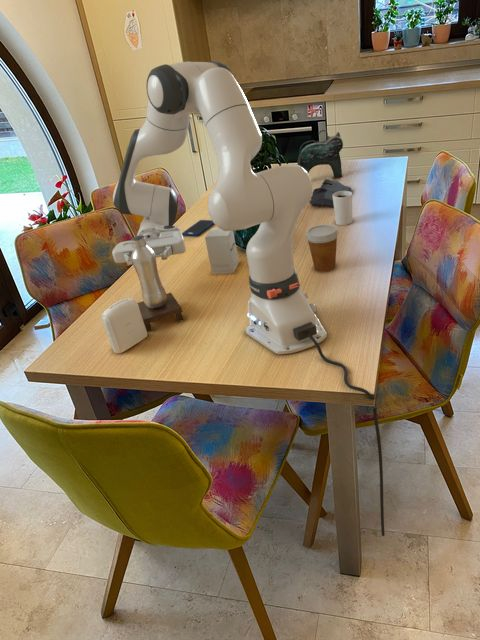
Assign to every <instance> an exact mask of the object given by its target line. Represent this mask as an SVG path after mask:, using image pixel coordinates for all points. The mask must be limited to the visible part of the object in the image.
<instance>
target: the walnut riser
mask: <svg viewBox="0 0 480 640" xmlns="http://www.w3.org/2000/svg"><path fill="white" fill-rule="evenodd" d="M166 294H167V301H166V303H165V304H164V305H163V306H161V307H158V308H149V307H147V306H146V305H145V303H144V301H143V300H142V301H139V302H137V304H138V306H139V309H140V312H141V316H142V319H143V322H144V325H145V328H146V332H147V333H149V332H152V331H153V328H152V324H151V323H153V322H156V321H159V320H163V319H166V318H169V317H172V316H175V317H176V320H177V322H182V321H184V317H183V308H182V306H181V305H180V304H179V302H178V301H177V299H176V298H175V296H174V295H173V293H172V292H168V293H167V292H166Z"/></svg>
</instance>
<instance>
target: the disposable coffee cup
mask: <svg viewBox="0 0 480 640" xmlns="http://www.w3.org/2000/svg"><path fill="white" fill-rule="evenodd" d="M338 236H339V230H338V229H337V227H336V226H335V225H332V224H317V225H314V226H312V227H309V228H308V229H307V231H306V233H305V239H306V240H307V243H308V246H309V251H310V255H311V260H312V264H313V268H314V270H315V271H316V272H319V273H328V272H331V271H334V270H335V269H336V263H337V261H336V260H337V246H338V245H337V244H338V243H337V242H338Z"/></svg>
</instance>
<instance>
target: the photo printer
mask: <svg viewBox="0 0 480 640" xmlns="http://www.w3.org/2000/svg"><path fill="white" fill-rule="evenodd" d="M137 303H138V302H137V301H136V299H135V298H132V297H127V298H123V299H120V300H118V301H116V302H114V303H112V304H111V305H110V306H108V308H106V309H105V310H104V311H103V312H102V313H101V315H100V316H101V321H102V324H103V327H104V329H105V332H106V334H107V337H108V340H109V344H110V346H111V349H112V350H113V352H114V353H115V354H123V353H124V352H126V351H127V350H130V348H132V347H134V346H135V345H136V344H139V343H140V342H141V341H143V340H145V339H146V338H147V337H148V332H147V331H146V328H145V325H144V322H143V319H142V316H141V312H140V309H139V306H138V304H137Z"/></svg>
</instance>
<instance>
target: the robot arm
mask: <svg viewBox="0 0 480 640" xmlns="http://www.w3.org/2000/svg"><path fill="white" fill-rule="evenodd" d="M146 95H147V98H148V102H147V107H146V116H145V121H144V123H143V125H142V126H141V127H140V128H138V129H137V128H136V129H135V130H134V131H133V132H132V134H131V136H130V139H129V143H128V147H127V148H126V151H125V156H124V160H123V162H122V167H121V170H120V175H119V179H118V181H117V183H116V184H115V187H114V190H113V194H112V201H113V206H114V207H115V208H116V210H117V211H118V212H119V213H120V214H122V215H131V216H139V217H143V219H142V220H141V223H140V225H139V229H138V231H137V235H136V236H139V235H143V236H145V238H146V241H147V244H146V245H147V246H149V247H150V248H151V249H152V250H153V251H154V253H155V256H156V258H161V261H165V260H168V258H170V257H171V256H174V255H182V254H185V253H186V251H187V249H186V244H185V239H184V235H182V233H183V232H182V231H181V229H180V227H179V225H174V224H175V222H176V219H177V213H178V207H179V199H178V196H177V194H176V192H175V190H174V189H173V188H172V187H169V186H164V185H161V184H160V185H159V184H152V183H149V182H144V181H139V180H137V179H135V176H136V173H137V169H138V166H139V163H140V162H141V160H143V159H145V158H148V157H153V156H154V157H155V156H163V155H168V154H171V153H174V152H175V151H177V150H179V149H180V148H181V147H182V146H183V145H184V144H185V142H186V139H187V136H188V131H189V126H190V119H191V113H194V114H199V113H200V115H201V119H202V121H203V124H204V126H205V129H206V131H207V134H208V136H209V140H210V141H211V144H212V147H213V150H214V153H215V156H216V159H217V168H218V171H217V178H216V181H215V184H214V186H213V188H212V190H211V192H210V194H209V196H208V200H207V211H208V215H209V217H210V220H212V221H213V222H214V225H215V227H216V228H220V229H221V230H223V231H233V232H235V231H240V230H241V231H242V230H246V229H249V228H251V227H254V226H255V227H256V226H257V225H259V227H258V229H257V231H256V232H255V233H254V235H253V236H252V237H251V238H250V239H249V241H248V242H247V245H246V249H245V253H246V254H245V255H246V260H247V264H248V271H249V276H248V284H249V289H250V292H251V294H250V297H249V299H248V301H247V317H248V319H249V320H248V321H249V324H248V325H247V327H246V328H245V334H246V335H247V336H249V337H251V338H252V339H253V340H255V341H256V342H257V343H259V344H260V345H262V346H264V347H265V348H267V349H268V350H269V351H271V352H273V353H274V354H276V355H289V354H295V353H299V352H302V351H304V350H307V349H310V348H312V347H314V346H315V347H316V349H317V351H318V354H319V356H320V357H321V359H323V361H325V362H326V363H329V364H331V365H335V366H339V367H340V368H341V369H343V372H344V373H343V382H344V384H345V385H346V387H348V388H349V389H351V390H355V391H358V392H362V393H363V394H364V395H366V396H367V398H369V401H373V400H374V397H373V395H372V394H371V393H370V392H369V391H368V390H367V389H366V388H363V387H359V386H355V385H353V384H351V383H350V381H348V377H349V375H348V374H349V373H348V369H347V367H346V366H345V364H343V363H341V362H339V361H335V360H331V359H328V358H327V357H326V356H325V354H324V353H323V351H322V348H321V346H320V343H321V342H323V341H325V339H327V337H328V334H327V331H326V330H325V328H324V327H323V325H322V323H321V322H320V320H319V318H318V317H317V315H316V312H317V310H318V309H317V305H316V303H315V302H311V303H310V302H309V301H308V299H309V295H308V292H307V293H306V292H305V293H304V291H303V289H302V286H301V284H300V280H299V274H298V273H297V269H296V268H295V264H294V263H295V262H294V252H293V251H294V250H293V239H294V233H295V229H296V225H297V223H298V220H299V218H300V216H301V214H302V212H303V210H304V209H305V208H306V206H307V205H308V204H309V203H310V201H311V197H312V195H313V181H312V178H311V176H310V174H309V173H307V172H306V170H305V169H304V168H302V167H301V166H299V165H297V164H286V165H277V166H274V167H271V168H268V169H264V170H261V171H258V172H254V171H253V169H252V166H251V161H252V160H253V159H254V158H255V157H256V156H257V155H258V153H259V152H260V150H261V148H262V145H263V135H262V132H261V129H260V127H259V125H258V122H257V120H256V118H255V116H254V113H253V111H252V108H251V106H250V103H249V102H248V99H247V97H246V95H245V93H244V91H243V89H242V87H241V86H240V84H239V83H238V80H237V79H236V78H235V76H234V74H233V72H232V70H231V68H230V67H229V66H228V65H227V64H225V63H222V62H220V61H213V60H211V61H208V62H207V61H180V62H175V63H171V64H168V63H167V64H166V63H165V64H161V65H158V66H155V67H154V68H152V69H151V70H150V71H149V73H148V76H147V79H146ZM133 249H134V247H133V246H132V241H131V240H125V241H121V242H118V243H117V244H116V245H115V246H114V247H113V249H112V252H111V254H112V258H113V260H114V263H116V264H123V263H126V265H127V266H133V264H132V261H131V255H132V252H133ZM372 413H373V422H374V426H375V427H374V428H375V435H376V443H377V453H378V454H377V455H378V467H379V470H378V471H379V496H380V499H379V500H380V501H379V503H380V507H379V508H380V528H381V529H380V531H381V537H385V512H384V509H385V508H384V470H383V468H384V467H383V454H382V452H383V451H382V442H381V434H380V426H379V419H378V412H377V407H375V408H372Z"/></svg>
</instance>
